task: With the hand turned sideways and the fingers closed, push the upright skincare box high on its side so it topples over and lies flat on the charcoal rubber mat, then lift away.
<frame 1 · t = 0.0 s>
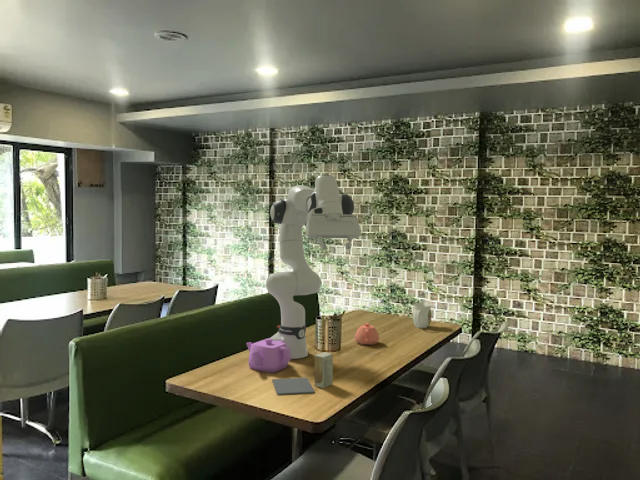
hand: (336, 248, 186), 54 cm above the table, tool tilted 30°, fingers open, 8 cm apart
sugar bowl: (366, 344, 266), on the table
teakettle: (266, 367, 223), on the table
mat: (292, 386, 200), on the table
skincare box: (323, 385, 202), on the table
pitcher: (421, 327, 305), on the table
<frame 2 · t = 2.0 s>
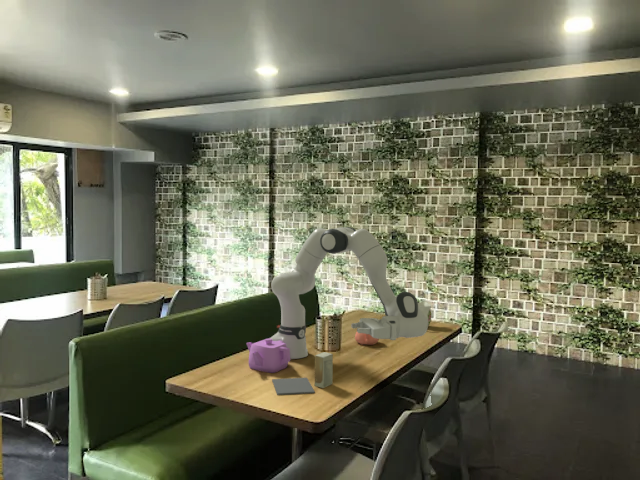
hand: (354, 328, 203), 22 cm above the table, tool horizontal, fingers open, 7 cm apart
nothing on the table moved.
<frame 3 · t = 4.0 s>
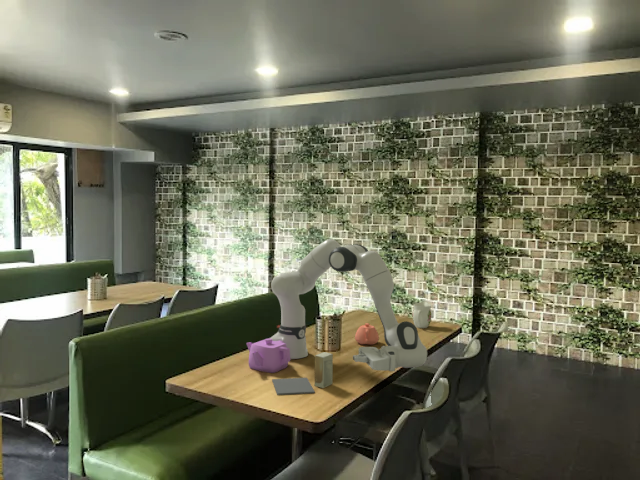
hand: (353, 358, 204), 10 cm above the table, tool horizontal, fingers closed
nothing on the table moved.
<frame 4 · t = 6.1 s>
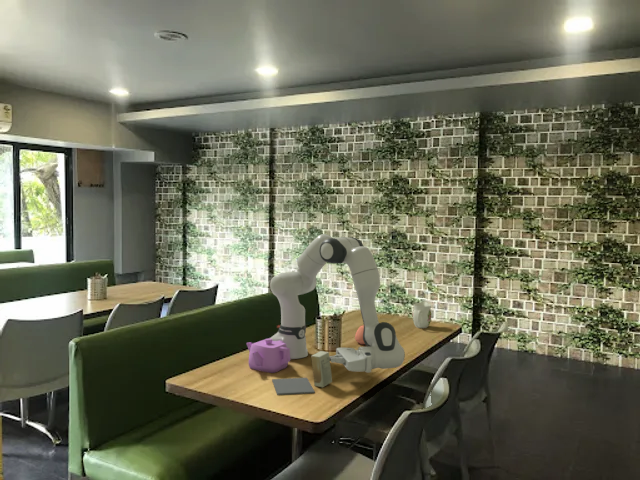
hand: (330, 359, 202), 10 cm above the table, tool horizontal, fingers closed
skincare box: (323, 384, 202), on the table, touching gripper
everything else where it was.
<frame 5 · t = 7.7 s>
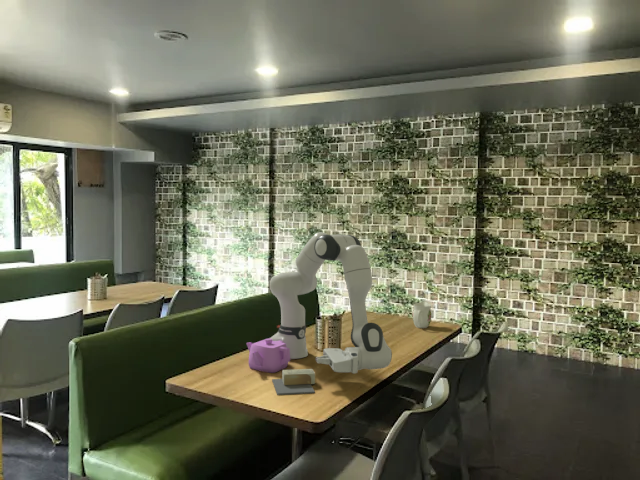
hand: (316, 360, 201), 10 cm above the table, tool horizontal, fingers closed
skincare box: (314, 376, 204), point 3 cm above the table, touching mat
everything else where it was.
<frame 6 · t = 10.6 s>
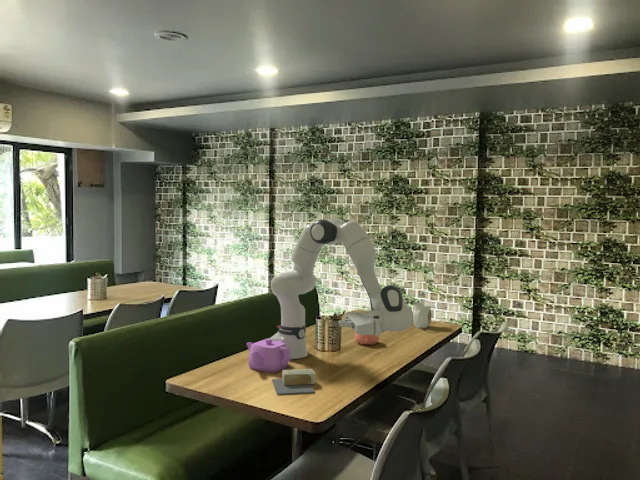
hand: (338, 323, 202), 24 cm above the table, tool horizontal, fingers closed
nothing on the table moved.
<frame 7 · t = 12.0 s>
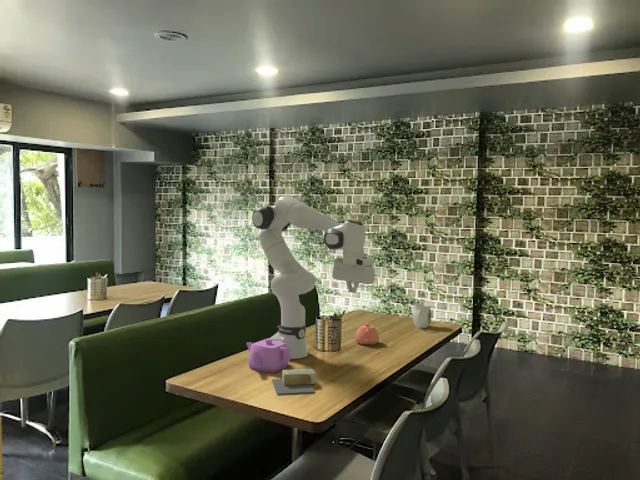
hand: (352, 292, 217), 34 cm above the table, tool pointing down, fingers closed
nothing on the table moved.
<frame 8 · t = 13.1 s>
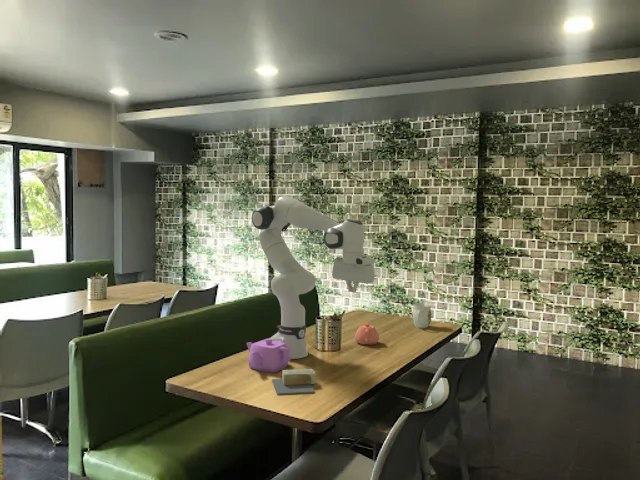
hand: (352, 291, 217), 34 cm above the table, tool pointing down, fingers closed
nothing on the table moved.
at the end: skincare box tilted 90°; skincare box touching mat; skincare box moved 4.9 cm from its start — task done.
